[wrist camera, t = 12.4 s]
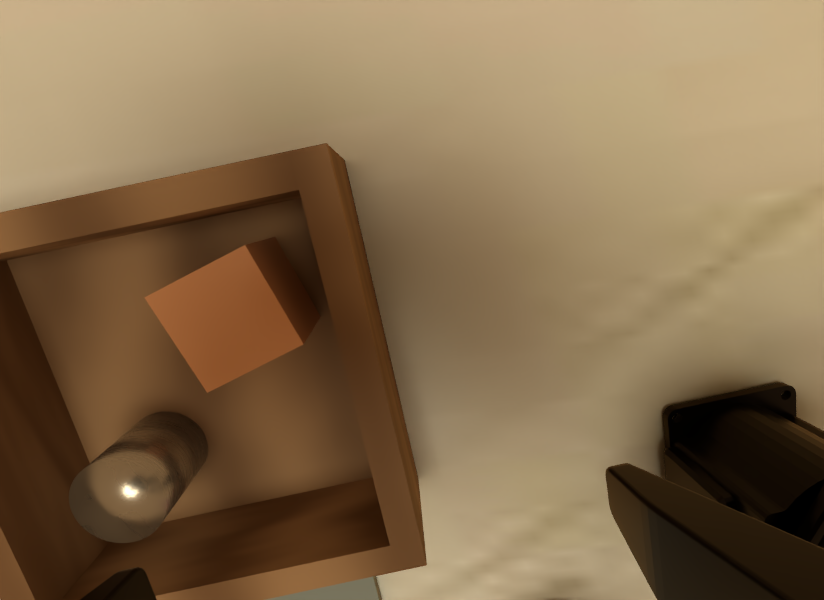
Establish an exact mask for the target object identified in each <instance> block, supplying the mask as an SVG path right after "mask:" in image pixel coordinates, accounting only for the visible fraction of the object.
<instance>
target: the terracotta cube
mask: <svg viewBox="0 0 824 600" xmlns="http://www.w3.org/2000/svg"><path fill="white" fill-rule="evenodd" d="M144 298H145V299H146V301H147V302H148V304H149V306H150V307H151V309H152V310H153V312H154V313H155V315H156V316H157V318H158V319H159V321H160V322H161V324H162V325H163V327H164V328H165V330H166V331H167V333H168V334H169V336H170V337H171V339H172V340H173V342H174V343H175V345H176V346H177V348H178V349H179V351H180V352H181V354H182V355H183V357H184V358H185V360H186V361H187V363H188V364H189V366H190V368H191V369H192V371H193V372H194V374H195V375H196V377H197V378H198V380H199V381H200V383H201V384H202V386H203V387H204V389H205V390H206V392H207V393H208V392H210V391H212V390H214V389H216V388H218V387H220V386H222V385H224V384H226V383H228V382H230V381H232V380H234V379H236V378H238V377H240V376H242V375H244V374H246V373H248V372H250V371H252V370H254V369H256V368H258V367H260V366H262V365H264V364H266V363H268V362H270V361H272V360H274V359H276V358H277V357H279V356H281V355H283V354H285V353H287V352H289V351H291V350H293V349H295V348H297V347H299V346H301V345H303V344H304V343H305V341H306V340H307V338H308V337H309V335H310V333H311V332H312V330H313V329H314V327H315V325H316V324H317V322H318V321H319V319H320V317H321V316H320V315H319V313H318V311H317V309H316V308H315V306H314V304H313V302H312V301H311V299H310V297H309V295H308V294H307V292H306V290H305V288H304V287H303V285H302V283H301V281H300V280H299V278H298V276H297V274H296V273H295V271H294V269H293V267H292V266H291V264H290V262H289V260H288V259H287V257H286V255H285V253H284V252H283V250H282V248H281V246H280V245H279V243H278V241H277V239H276V238H275V237H272V238H268V239H265V240H261V241H257V242H254V243H250V244H246V245H244V246H242V247H240V248H238V249H236V250H234V251H232V252H230V253H229V254H227V255H225V256H223V257H221V258H219V259H217V260H215V261H213V262H211V263H209V264H208V265H206V266H204V267H202V268H200V269H198V270H196V271H194V272H192V273H190V274H188V275H186V276H185V277H183V278H181V279H179V280H177V281H175V282H173V283H171V284H169V285H167V286H165V287H164V288H162V289H160V290H158V291H156V292H154V293H152V294H150V295H148V296H146V297H144Z"/></svg>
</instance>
